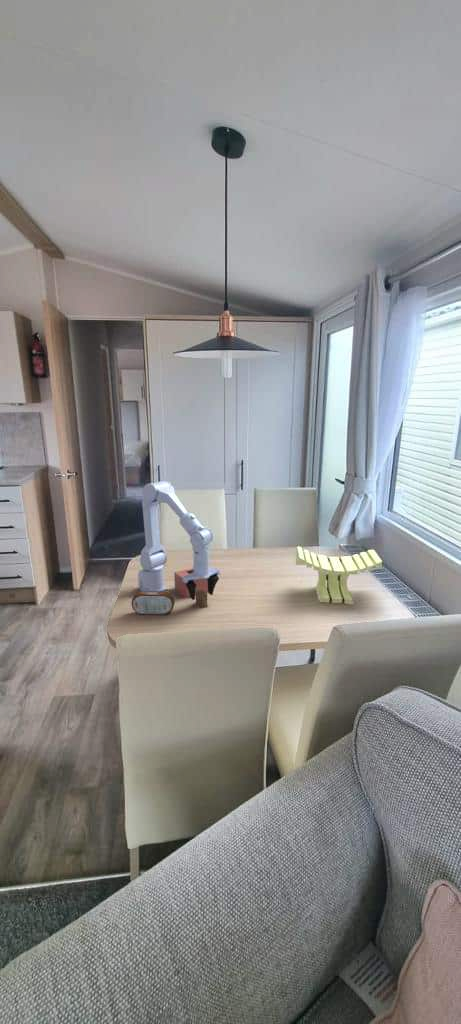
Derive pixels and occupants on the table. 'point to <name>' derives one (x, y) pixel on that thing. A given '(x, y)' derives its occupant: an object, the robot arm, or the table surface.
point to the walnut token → (201, 598)
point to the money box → (182, 586)
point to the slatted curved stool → (337, 572)
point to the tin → (153, 602)
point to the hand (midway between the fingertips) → (201, 596)
